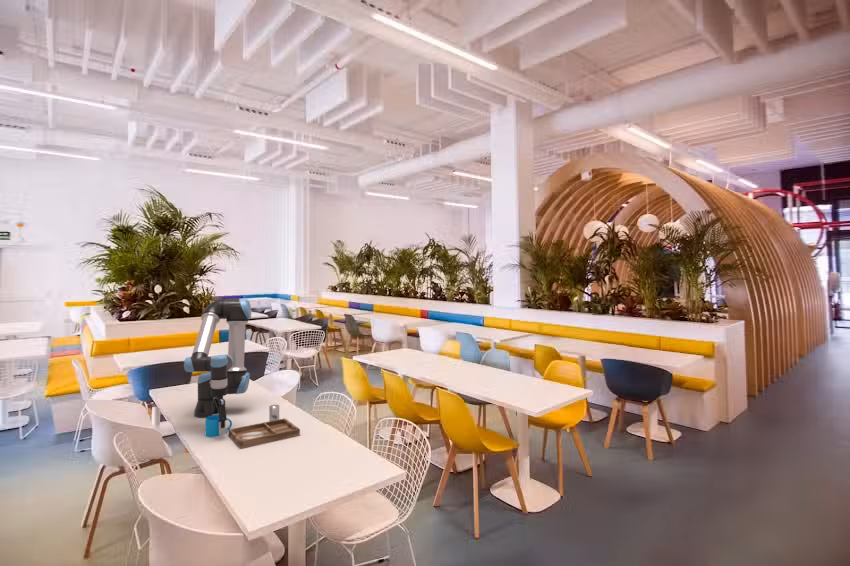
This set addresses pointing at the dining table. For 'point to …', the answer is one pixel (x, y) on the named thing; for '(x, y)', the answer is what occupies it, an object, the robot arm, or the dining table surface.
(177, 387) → the dining table surface
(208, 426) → the mug
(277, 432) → the tray
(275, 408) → the clear rounded cylinder
